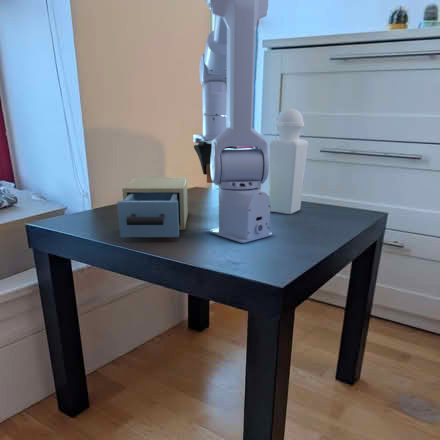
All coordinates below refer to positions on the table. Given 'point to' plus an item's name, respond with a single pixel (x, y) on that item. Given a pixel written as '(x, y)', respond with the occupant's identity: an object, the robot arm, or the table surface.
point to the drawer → (149, 215)
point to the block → (209, 174)
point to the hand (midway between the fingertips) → (214, 175)
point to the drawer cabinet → (161, 191)
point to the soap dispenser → (287, 164)
